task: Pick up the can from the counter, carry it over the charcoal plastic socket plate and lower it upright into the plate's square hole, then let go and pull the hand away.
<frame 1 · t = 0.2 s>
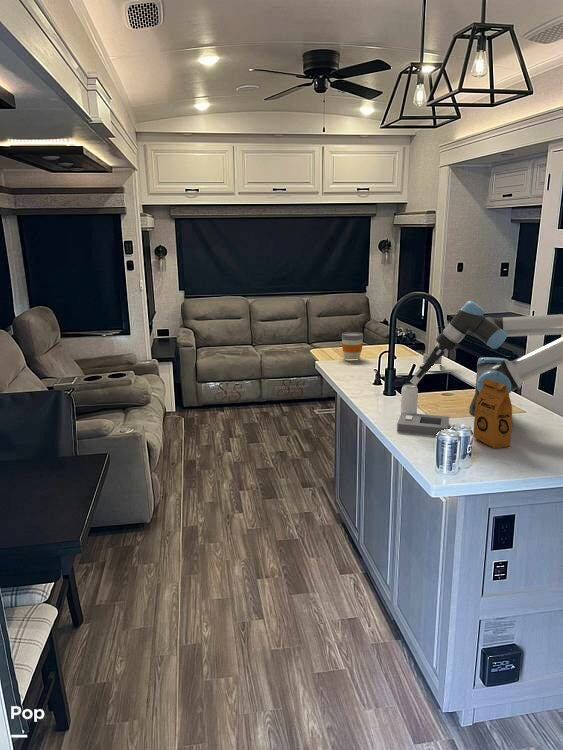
hand: (415, 379, 219), 15 cm above the countertop, tool tilted 35°, fingers open, 13 cm apart
phone holder: (431, 368, 303), on the countertop
socket plate: (423, 427, 211), on the countertop
can: (408, 414, 227), on the countertop
coffee package: (491, 443, 195), on the countertop
reusable coffee cup: (351, 359, 326), on the countertop
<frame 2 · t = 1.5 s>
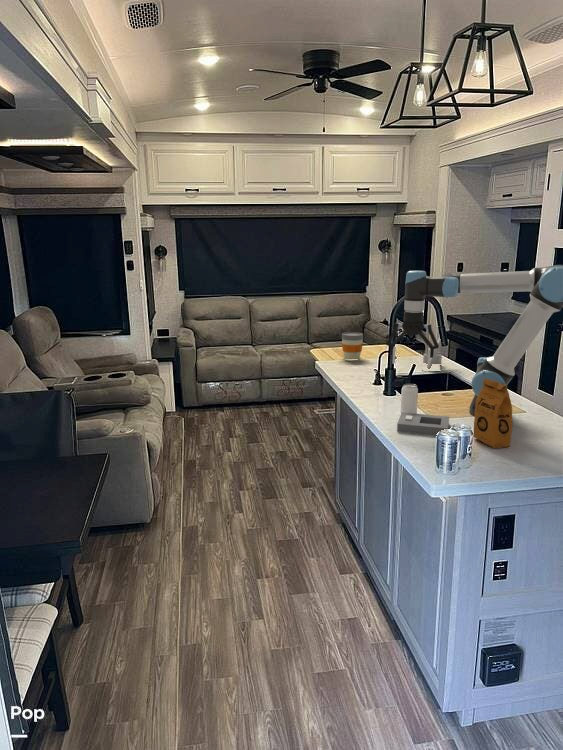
hand: (411, 364, 221), 21 cm above the countertop, tool pointing down, fingers open, 13 cm apart
nothing on the countertop moved.
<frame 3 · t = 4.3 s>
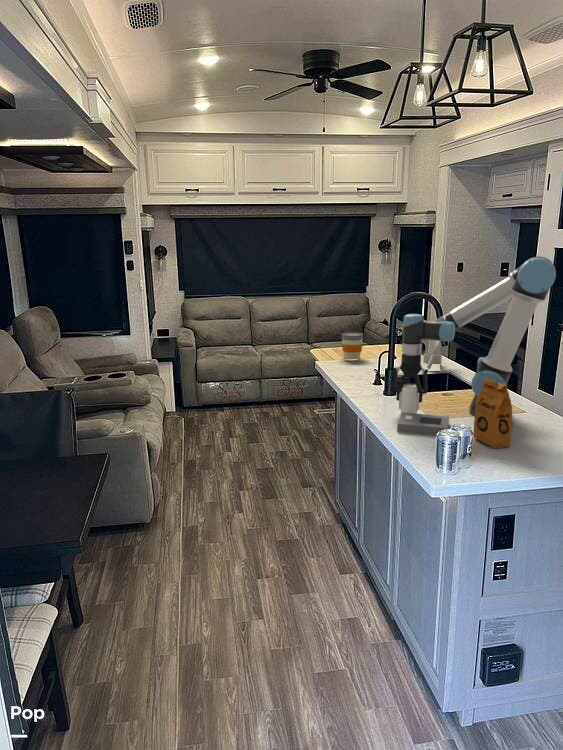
hand: (408, 408, 226), 2 cm above the countertop, tool pointing down, fingers closed on can, 6 cm apart
can: (408, 414, 227), on the countertop, touching gripper
everything else where it was.
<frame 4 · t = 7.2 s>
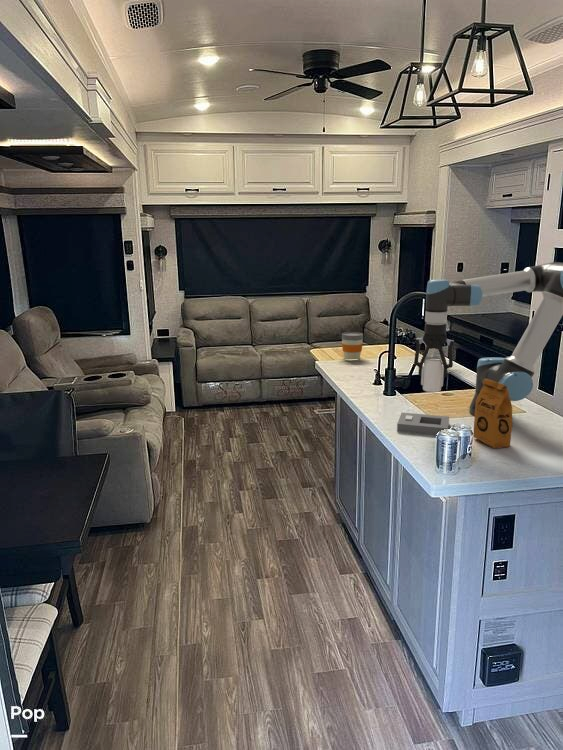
hand: (432, 384, 206), 17 cm above the countertop, tool pointing down, fingers closed on can, 6 cm apart
can: (431, 390, 207), point 15 cm above the countertop, touching gripper
everything else where it was.
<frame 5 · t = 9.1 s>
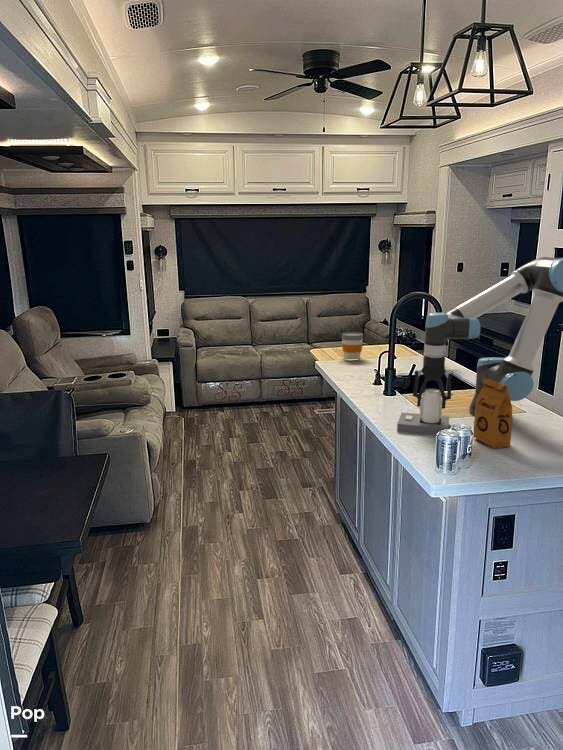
hand: (430, 415, 209), 5 cm above the countertop, tool pointing down, fingers closed on can, 6 cm apart
can: (430, 421, 209), point 3 cm above the countertop, touching gripper
everything else where it was.
when the fingers open (4 cm above the countertop, at t = 10.4 s): can drops 1 cm, resting in socket plate.
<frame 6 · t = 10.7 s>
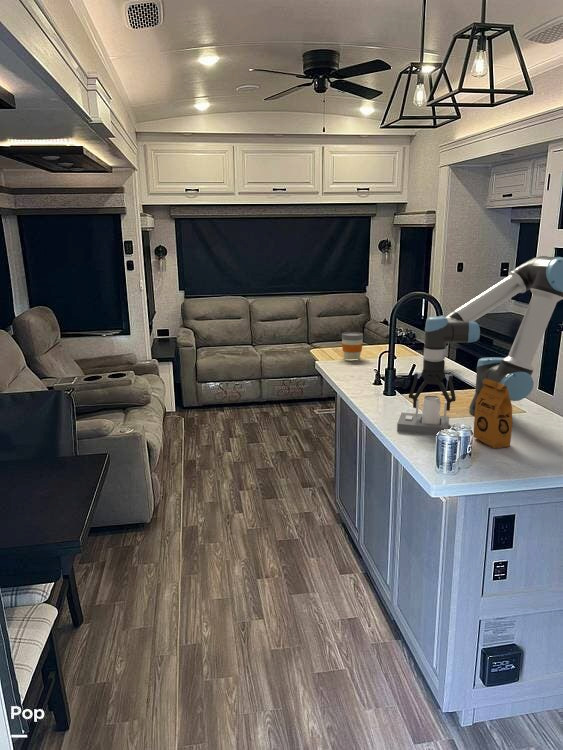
hand: (430, 417, 209), 4 cm above the countertop, tool pointing down, fingers open, 9 cm apart
can: (430, 428, 210), resting in socket plate
everything else where it was.
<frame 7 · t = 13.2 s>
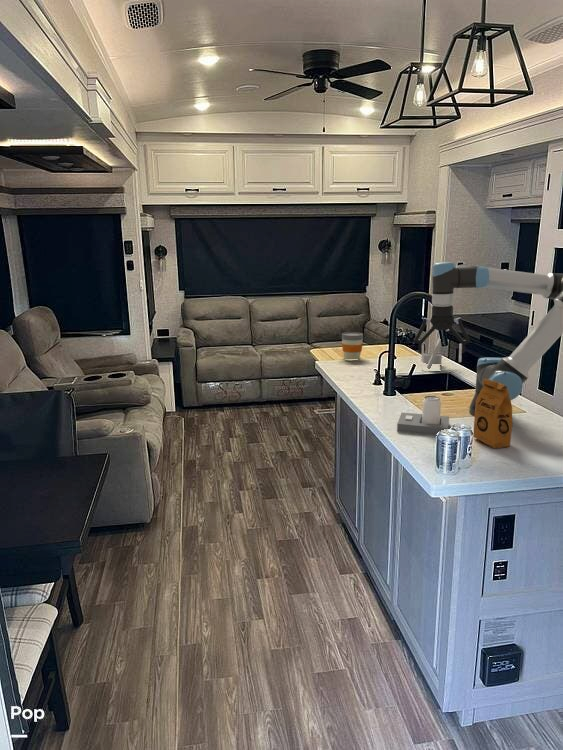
hand: (441, 361, 210), 24 cm above the countertop, tool pointing down, fingers open, 13 cm apart
nothing on the countertop moved.
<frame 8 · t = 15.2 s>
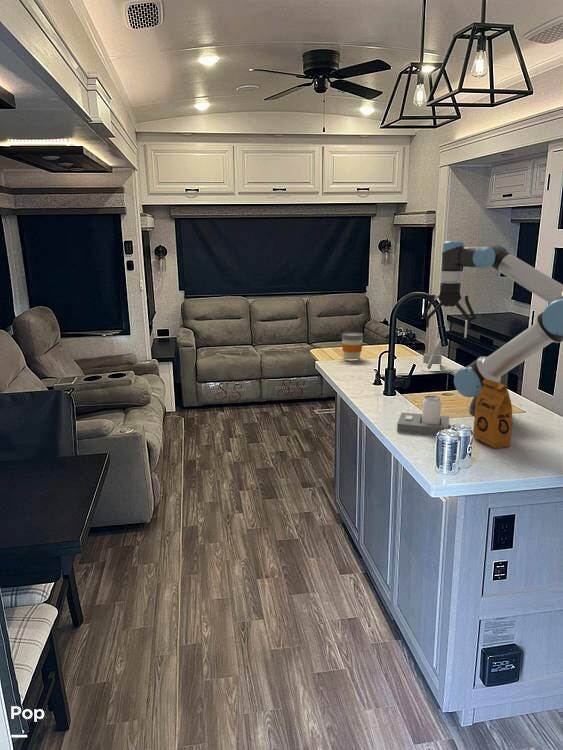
hand: (447, 336, 219), 32 cm above the countertop, tool pointing down, fingers open, 13 cm apart
nothing on the countertop moved.
at the end: can 0.1 cm from the target spot on the socket plate, point 0.0 cm above the socket plate's base; can tilted 0°; the gripper is holding nothing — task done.
